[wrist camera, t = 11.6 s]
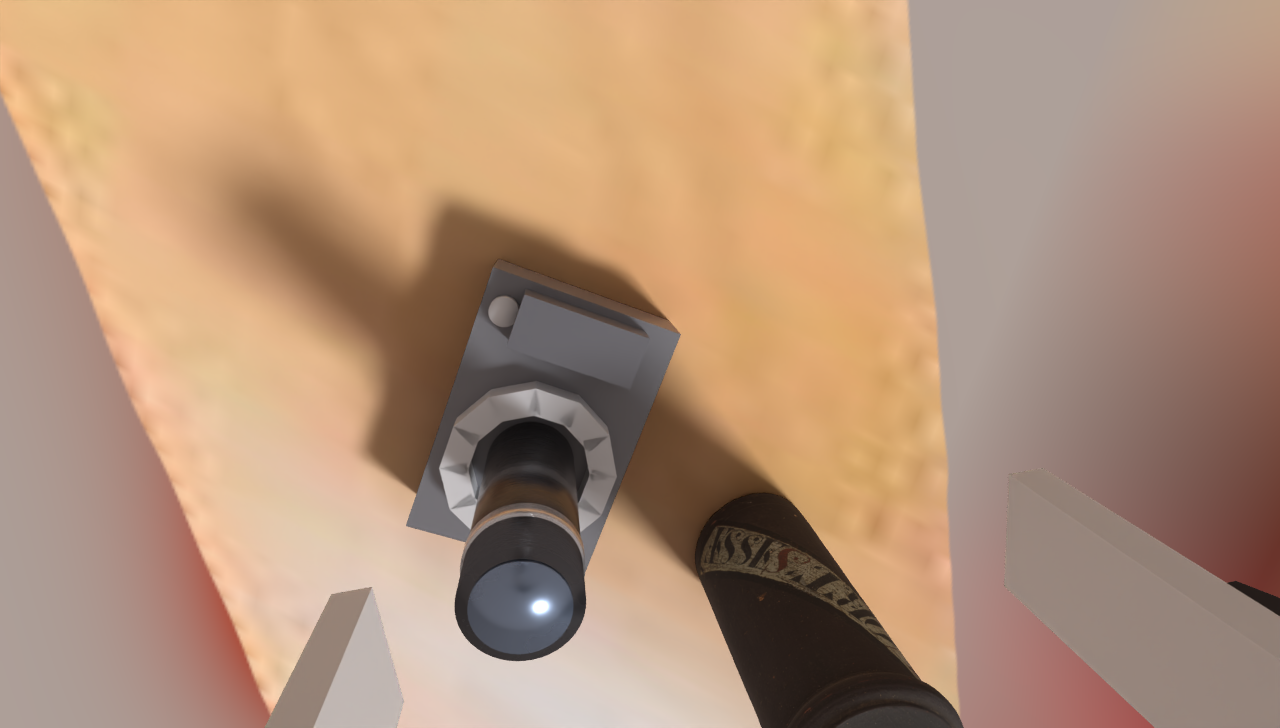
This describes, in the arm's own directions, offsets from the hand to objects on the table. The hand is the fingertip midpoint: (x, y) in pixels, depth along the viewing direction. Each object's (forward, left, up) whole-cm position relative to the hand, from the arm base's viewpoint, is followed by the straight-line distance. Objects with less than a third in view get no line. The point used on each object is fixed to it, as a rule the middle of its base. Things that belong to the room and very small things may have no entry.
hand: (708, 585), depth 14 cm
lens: (+9, -1, -26) cm, 27 cm away
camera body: (+7, -1, -30) cm, 30 cm away
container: (+12, +16, -30) cm, 36 cm away
